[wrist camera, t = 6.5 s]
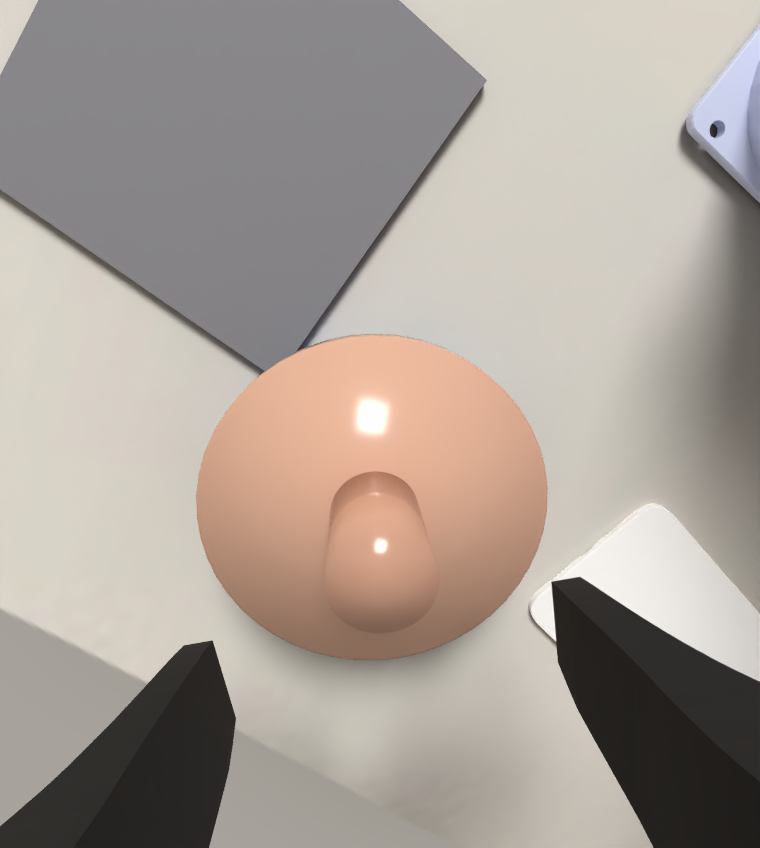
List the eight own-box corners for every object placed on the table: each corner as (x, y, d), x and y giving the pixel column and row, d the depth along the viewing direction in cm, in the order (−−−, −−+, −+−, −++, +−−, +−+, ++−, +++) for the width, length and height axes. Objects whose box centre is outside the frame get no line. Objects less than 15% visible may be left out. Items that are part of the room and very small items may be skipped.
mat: (484, 84, 18) (486, 80, 17) (277, 377, 20) (276, 379, 20) (157, -212, 15) (152, -224, 15) (-35, 162, 18) (-43, 160, 17)
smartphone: (659, 497, 22) (843, 707, 26) (649, 489, 23) (830, 695, 26) (521, 610, 23) (715, 797, 27) (516, 599, 24) (706, 783, 27)
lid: (553, 332, 17) (630, 358, 12) (526, 638, 20) (579, 752, 15) (186, 335, 16) (121, 363, 12) (218, 649, 19) (176, 771, 15)
